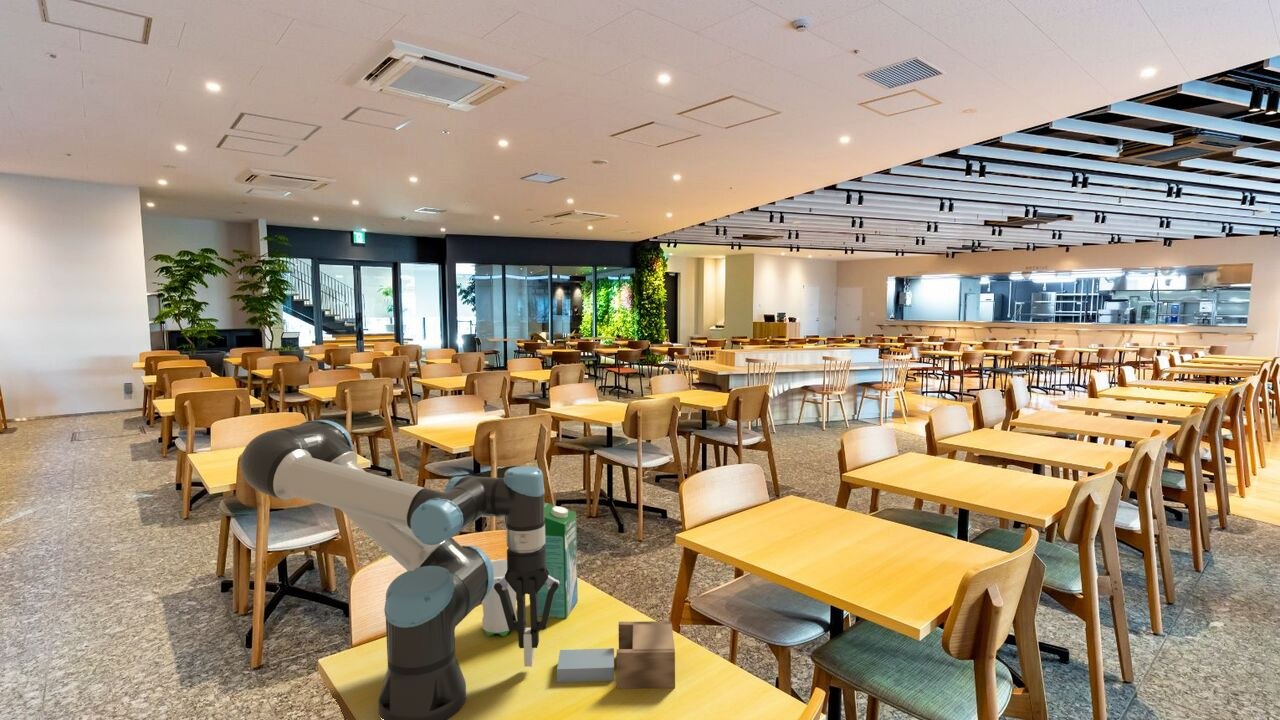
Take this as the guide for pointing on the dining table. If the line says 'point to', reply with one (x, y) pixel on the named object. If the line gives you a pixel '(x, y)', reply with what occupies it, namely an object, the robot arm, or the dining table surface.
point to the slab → (585, 665)
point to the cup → (497, 603)
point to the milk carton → (560, 560)
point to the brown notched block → (646, 655)
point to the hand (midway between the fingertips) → (529, 662)
